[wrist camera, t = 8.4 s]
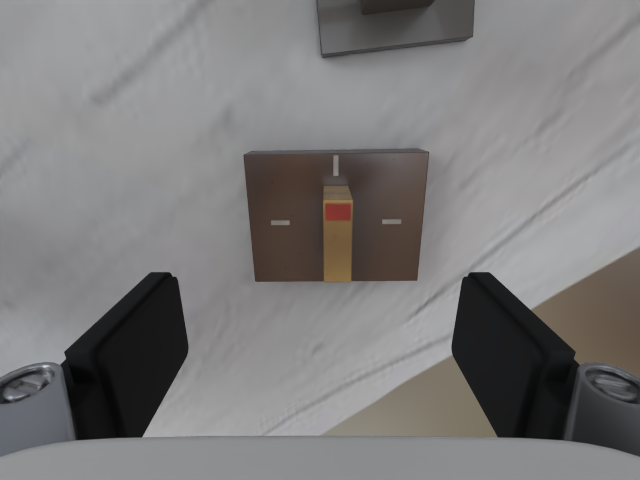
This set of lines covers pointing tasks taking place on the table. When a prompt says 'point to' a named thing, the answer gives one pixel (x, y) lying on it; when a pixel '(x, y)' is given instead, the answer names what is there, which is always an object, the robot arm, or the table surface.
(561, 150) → the table surface
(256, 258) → the plate
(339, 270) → the thumbturn
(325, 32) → the latch bracket
